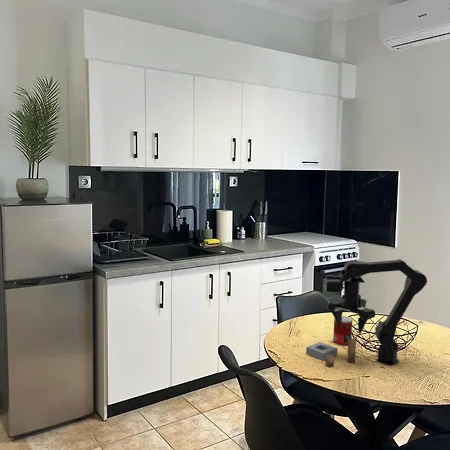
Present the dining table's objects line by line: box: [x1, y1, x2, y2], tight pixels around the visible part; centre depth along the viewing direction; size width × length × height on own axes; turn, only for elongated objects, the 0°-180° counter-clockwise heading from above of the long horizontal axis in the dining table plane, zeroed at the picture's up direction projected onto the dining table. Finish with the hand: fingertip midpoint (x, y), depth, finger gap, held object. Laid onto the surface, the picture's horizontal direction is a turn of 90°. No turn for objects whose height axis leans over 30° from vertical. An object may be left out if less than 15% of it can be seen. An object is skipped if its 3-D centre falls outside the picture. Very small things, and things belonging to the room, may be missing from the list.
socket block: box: [305, 341, 338, 362], centre depth 196 cm, size 9×9×3 cm
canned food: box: [332, 315, 353, 346], centre depth 210 cm, size 8×8×11 cm
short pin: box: [325, 355, 335, 368], centre depth 185 cm, size 3×3×4 cm
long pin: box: [346, 338, 357, 364], centre depth 189 cm, size 3×3×9 cm
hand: (350, 330), depth 191 cm, fingers open, 9 cm apart
